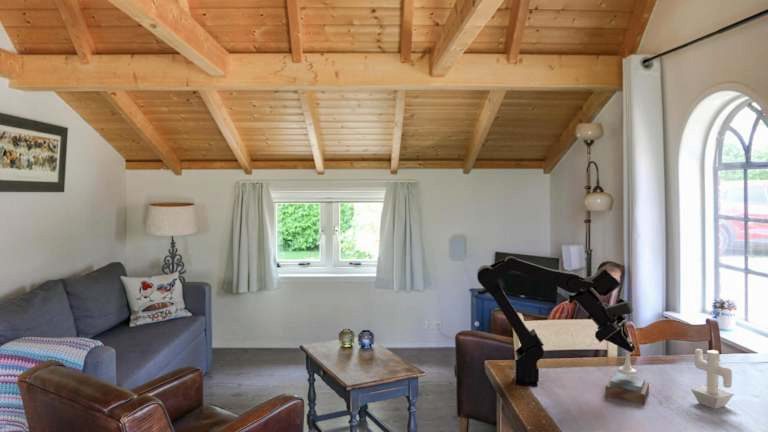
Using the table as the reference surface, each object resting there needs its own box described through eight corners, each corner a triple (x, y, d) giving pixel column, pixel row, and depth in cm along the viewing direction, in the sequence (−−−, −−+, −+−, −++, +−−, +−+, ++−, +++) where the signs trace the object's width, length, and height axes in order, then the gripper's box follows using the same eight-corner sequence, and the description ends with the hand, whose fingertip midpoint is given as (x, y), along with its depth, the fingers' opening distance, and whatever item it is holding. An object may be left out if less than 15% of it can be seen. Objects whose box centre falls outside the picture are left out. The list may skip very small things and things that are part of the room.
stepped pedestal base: (605, 396, 140) (605, 381, 140) (611, 385, 148) (611, 371, 148) (644, 404, 134) (644, 388, 134) (648, 393, 143) (649, 378, 142)
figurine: (721, 413, 129) (723, 357, 129) (686, 400, 138) (688, 347, 137) (737, 408, 132) (739, 354, 132) (702, 396, 141) (704, 344, 140)
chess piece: (639, 375, 138) (640, 340, 138) (620, 374, 139) (621, 339, 139) (633, 370, 143) (635, 336, 143) (615, 368, 144) (617, 334, 144)
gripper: (609, 295, 135) (652, 341, 129) (620, 285, 150) (659, 327, 144) (578, 319, 140) (619, 365, 134) (592, 307, 155) (629, 348, 149)
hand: (633, 350), depth 140 cm, fingers closed on chess piece
